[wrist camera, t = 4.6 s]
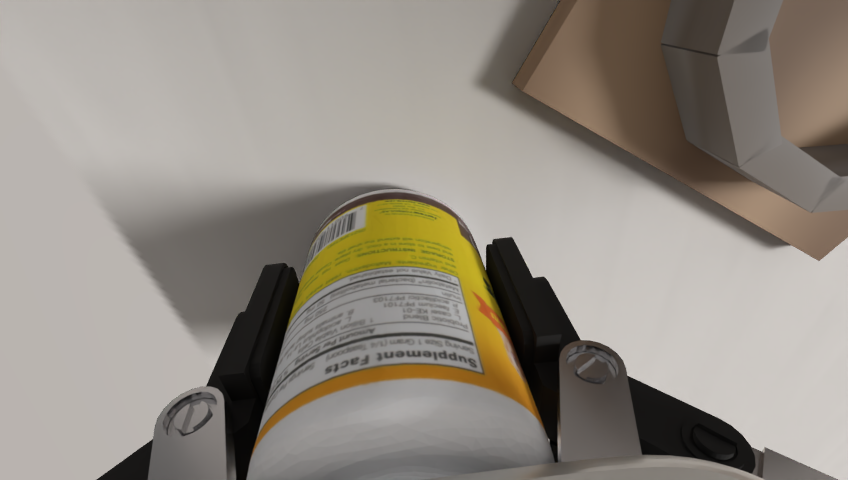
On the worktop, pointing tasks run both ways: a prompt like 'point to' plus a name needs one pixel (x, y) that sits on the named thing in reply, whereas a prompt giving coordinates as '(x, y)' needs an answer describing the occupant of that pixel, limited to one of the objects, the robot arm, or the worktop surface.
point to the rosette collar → (714, 100)
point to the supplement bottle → (396, 356)
